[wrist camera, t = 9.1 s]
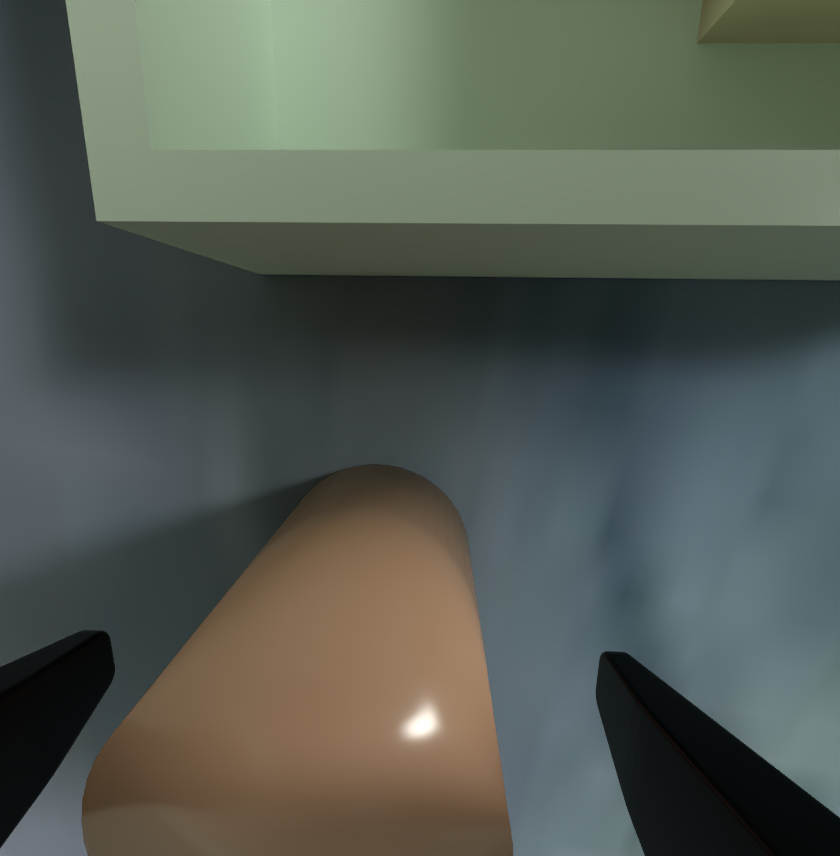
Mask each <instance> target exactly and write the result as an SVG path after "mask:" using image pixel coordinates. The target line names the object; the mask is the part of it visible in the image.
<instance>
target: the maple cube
mask: <svg viewBox="0 0 840 856" xmlns="http://www.w3.org/2000/svg"><path fill="white" fill-rule="evenodd" d="M711 43H840V0H703V1H702V9H701V16H700V23H699V30H698V38H697V44H711Z"/></svg>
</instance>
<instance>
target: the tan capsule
mask: <svg viewBox="0 0 840 856" xmlns="http://www.w3.org/2000/svg"><path fill="white" fill-rule="evenodd" d="M82 828H83V836H84V843H85V847H86V850H87V853H88V856H513V842H512V836H511V829H510V822H509V815H508V809H507V802H506V795H505V788H504V782H503V775H502V768H501V761H500V754H499V748H498V741H497V734H496V727H495V721H494V714H493V707H492V700H491V694H490V687H489V680H488V673H487V666H486V660H485V653H484V646H483V639H482V633H481V626H480V619H479V612H478V606H477V599H476V592H475V585H474V578H473V572H472V565H471V558H470V551H469V545H468V539H467V533H466V529H465V526H464V523H463V521H462V519H461V517H460V514H459V512H458V511H457V509H456V508H455V506H454V505H453V503H452V502H451V500H450V499H449V498H448V497H447V496H446V495H445V494H444V492H442V491H441V490H440V489H439V488H438V487H437V486H436V485H434V484H433V483H431V482H430V481H428V480H427V479H425V478H424V477H422V476H420V475H418V474H416V473H414V472H411V471H408V470H406V469H403V468H399V467H394V466H390V465H379V464H372V465H360V466H354V467H350V468H347V469H344V470H341V471H338V472H336V473H334V474H332V475H330V476H328V477H326V478H325V479H323V480H322V481H320V482H319V483H318V484H317V485H315V486H314V487H313V488H312V489H311V490H310V491H309V492H308V493H307V494H306V495H305V497H304V498H303V499H302V500H301V501H300V503H299V504H298V505H297V506H296V508H295V509H294V510H293V511H292V513H291V514H290V515H289V516H288V517H287V519H286V520H285V521H284V522H283V524H282V525H281V526H280V527H279V529H278V530H277V531H276V532H275V534H274V535H273V536H272V537H271V538H270V540H269V541H268V542H267V543H266V545H265V546H264V547H263V548H262V550H261V551H260V552H259V553H258V555H257V556H256V557H255V558H254V559H253V561H252V562H251V563H250V564H249V566H248V567H247V568H246V569H245V571H244V572H243V573H242V574H241V576H240V577H239V578H238V579H237V580H236V582H235V583H234V584H233V585H232V587H231V588H230V589H229V590H228V592H227V593H226V594H225V595H224V597H223V598H222V599H221V600H220V601H219V603H218V604H217V605H216V606H215V608H214V609H213V610H212V611H211V613H210V614H209V615H208V616H207V618H206V619H205V620H204V621H203V623H202V624H201V625H200V626H199V627H198V629H197V630H196V631H195V632H194V634H193V635H192V636H191V637H190V639H189V640H188V641H187V642H186V644H185V645H184V646H183V647H182V648H181V650H180V651H179V652H178V653H177V655H176V656H175V657H174V658H173V660H172V661H171V662H170V663H169V665H168V666H167V667H166V668H165V669H164V671H163V672H162V673H161V674H160V676H159V677H158V678H157V679H156V681H155V682H154V683H153V684H152V686H151V687H150V688H149V689H148V690H147V692H146V693H145V694H144V695H143V697H142V698H141V699H140V700H139V702H138V703H137V704H136V705H135V707H134V708H133V709H132V710H131V711H130V713H129V714H128V715H127V716H126V718H125V719H124V720H123V721H122V723H121V724H120V725H119V726H118V728H117V729H116V730H115V731H114V733H113V734H112V735H111V736H110V737H109V739H108V740H107V742H106V743H105V745H104V746H103V748H102V749H101V751H100V753H99V754H98V756H97V757H96V759H95V761H94V764H93V766H92V769H91V771H90V773H89V776H88V778H87V782H86V787H85V791H84V796H83V802H82Z"/></svg>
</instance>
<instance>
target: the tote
mask: <svg viewBox="0 0 840 856" xmlns="http://www.w3.org/2000/svg"><path fill="white" fill-rule="evenodd" d="M702 1H703V0H66V7H67V14H68V21H69V28H70V36H71V43H72V50H73V57H74V64H75V71H76V78H77V86H78V93H79V100H80V107H81V114H82V121H83V128H84V136H85V143H86V150H87V157H88V164H89V171H90V178H91V186H92V193H93V200H94V207H95V214H96V221H98V222H101V223H104V224H107V225H110V226H113V227H116V228H119V229H122V230H125V231H128V232H131V233H134V234H137V235H140V236H144V237H147V238H150V239H153V240H156V241H159V242H162V243H165V244H168V245H171V246H174V247H177V248H180V249H183V250H186V251H189V252H192V253H195V254H198V255H202V256H205V257H208V258H211V259H214V260H217V261H220V262H223V263H226V264H229V265H232V266H235V267H238V268H241V269H244V270H247V271H250V272H253V273H256V274H274V275H368V276H462V277H557V278H651V279H745V280H840V43H711V44H697V38H698V30H699V23H700V16H701V9H702Z"/></svg>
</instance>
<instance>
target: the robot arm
mask: <svg viewBox="0 0 840 856" xmlns="http://www.w3.org/2000/svg"><path fill="white" fill-rule="evenodd" d="M114 673H115V664H114V658H113V652H112V646H111V641H110V636H109V635H108V633H107V632H105V631H96V630H84V631H80V632H77V633H75V634H73V635H71V636H68V637H66V638H64V639H62V640H60V641H57V642H55V643H53V644H51V645H48V646H46V647H44V648H42V649H40V650H37V651H35V652H33V653H31V654H28V655H26V656H24V657H22V658H20V659H17V660H15V661H13V662H11V663H8V664H6V665H4V666H2V667H0V848H1V847H2V845H3V844H4V842H5V841H6V840H7V838H8V837H9V836H10V834H11V833H12V832H13V830H14V829H15V827H16V826H17V825H18V823H19V822H20V821H21V819H22V818H23V817H24V815H25V814H26V812H27V811H28V810H29V808H30V807H31V806H32V804H33V803H34V801H35V800H36V799H37V797H38V796H39V795H40V793H41V792H42V790H43V789H44V788H45V786H46V785H47V783H48V782H49V780H50V779H51V778H52V776H53V775H54V773H55V772H56V770H57V769H58V767H59V765H60V764H61V762H62V761H63V759H64V758H65V756H66V755H67V753H68V751H69V750H70V748H71V747H72V745H73V743H74V742H75V740H76V739H77V737H78V735H79V734H80V732H81V731H82V729H83V727H84V726H85V724H86V723H87V721H88V719H89V718H90V716H91V715H92V713H93V711H94V710H95V708H96V707H97V705H98V703H99V702H100V700H101V699H102V697H103V695H104V694H105V692H106V691H107V689H108V687H109V686H110V684H111V682H112V680H113V677H114ZM596 700H597V705H598V709H599V713H600V716H601V720H602V723H603V727H604V730H605V734H606V737H607V741H608V744H609V748H610V751H611V755H612V758H613V762H614V765H615V769H616V772H617V776H618V779H619V783H620V786H621V790H622V793H623V796H624V800H625V803H626V806H627V809H628V812H629V815H630V817H631V820H632V823H633V826H634V828H635V831H636V834H637V836H638V839H639V841H640V844H641V847H642V849H643V852H644V854H645V856H840V818H839V817H838V816H837V815H836V814H834V813H833V812H832V811H830V810H829V809H828V808H827V807H825V806H824V805H823V804H821V803H820V802H819V801H818V800H816V799H815V798H814V797H812V796H811V795H810V794H808V793H807V792H806V791H805V790H803V789H802V788H801V787H799V786H798V785H797V784H796V783H794V782H793V781H792V780H790V779H789V778H788V777H787V776H785V775H784V774H783V773H781V772H780V771H779V770H778V769H776V768H775V767H774V766H772V765H771V764H770V763H768V762H767V761H766V760H765V759H763V758H762V757H761V756H759V755H758V754H757V753H756V752H754V751H753V750H752V749H750V748H749V747H748V746H747V745H745V744H744V743H743V742H741V741H740V740H739V739H738V738H736V737H735V736H734V735H732V734H731V733H730V732H728V731H727V730H726V729H725V728H723V727H722V726H721V725H719V724H718V723H717V722H716V721H714V720H713V719H712V718H710V717H709V716H708V715H707V714H705V713H704V712H703V711H701V710H700V709H699V708H698V707H696V706H695V705H694V704H692V703H691V702H690V701H688V700H687V699H686V698H685V697H683V696H682V695H681V694H679V693H678V692H677V691H676V690H674V689H673V688H672V687H670V686H669V685H668V684H667V683H665V682H664V681H663V680H661V679H660V678H659V677H658V676H656V675H655V674H654V673H652V672H651V671H650V670H648V669H647V668H646V667H645V666H643V665H642V664H641V663H639V662H638V661H637V660H636V659H634V658H633V657H632V656H630V655H629V654H627V653H625V652H611V651H605V652H603V653H602V654H601V656H600V660H599V668H598V676H597V684H596Z"/></svg>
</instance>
